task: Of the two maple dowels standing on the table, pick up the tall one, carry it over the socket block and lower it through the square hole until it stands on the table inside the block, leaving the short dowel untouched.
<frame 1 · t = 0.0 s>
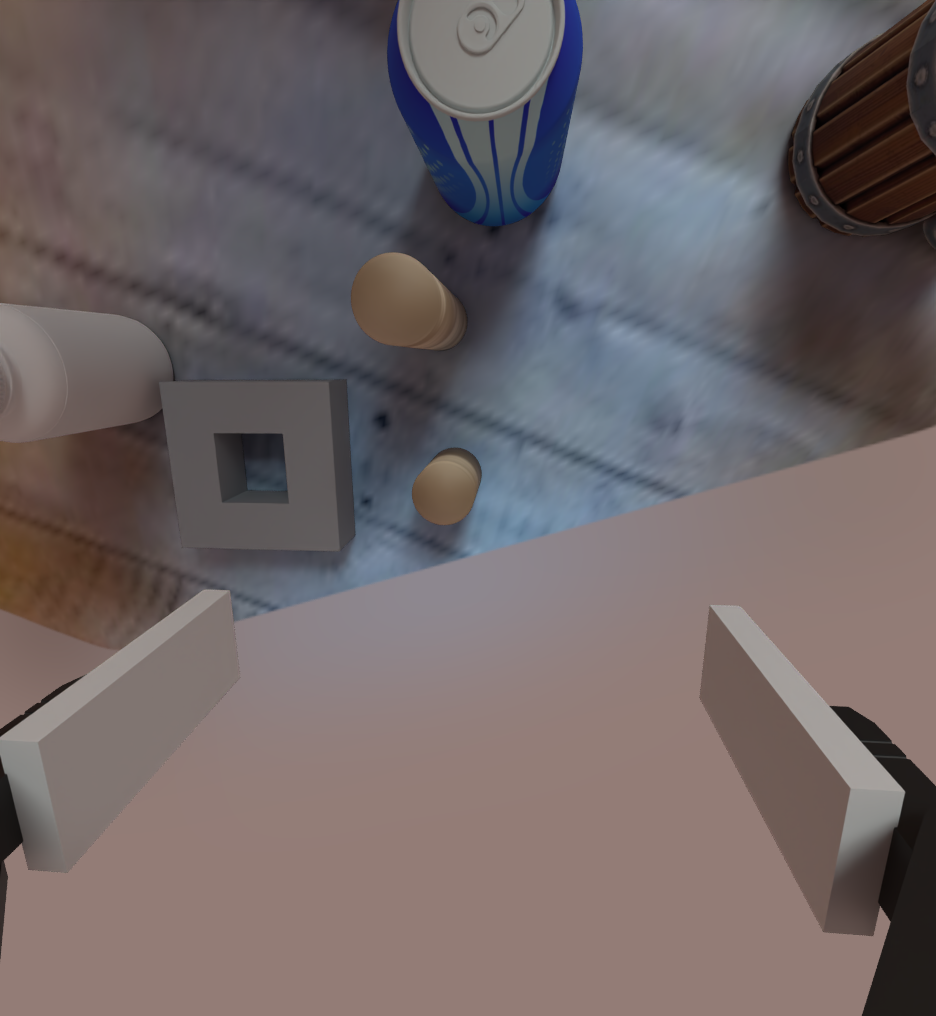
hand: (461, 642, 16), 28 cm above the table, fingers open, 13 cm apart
mug: (891, 183, 36), on the table
tall dowel: (439, 321, 40), on the table
socket block: (275, 459, 44), on the table
short dowel: (455, 473, 43), on the table
beer can: (496, 162, 38), on the table
pill bottle: (129, 370, 44), on the table
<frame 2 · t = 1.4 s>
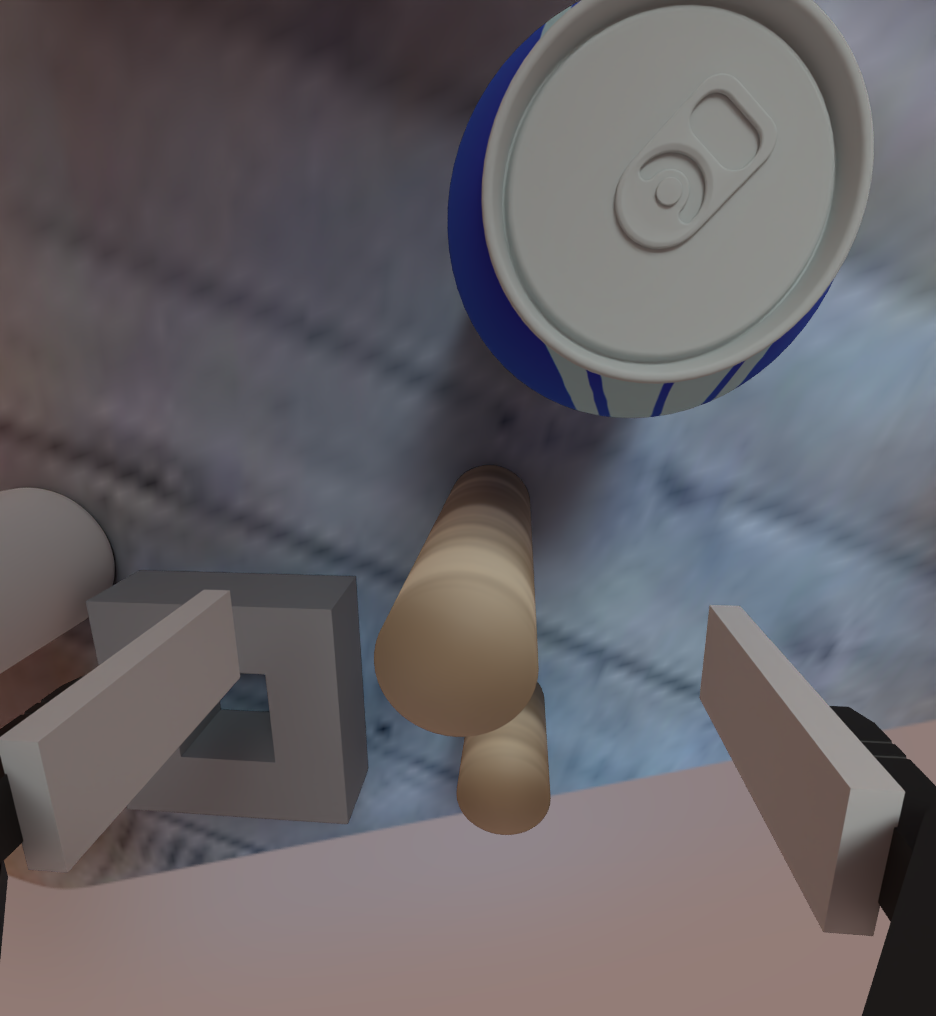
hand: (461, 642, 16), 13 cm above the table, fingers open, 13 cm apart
tall dowel: (489, 504, 28), on the table
socket block: (257, 672, 32), on the table
short dowel: (507, 700, 31), on the table
beer can: (580, 288, 25), on the table
pill bottle: (54, 554, 31), on the table
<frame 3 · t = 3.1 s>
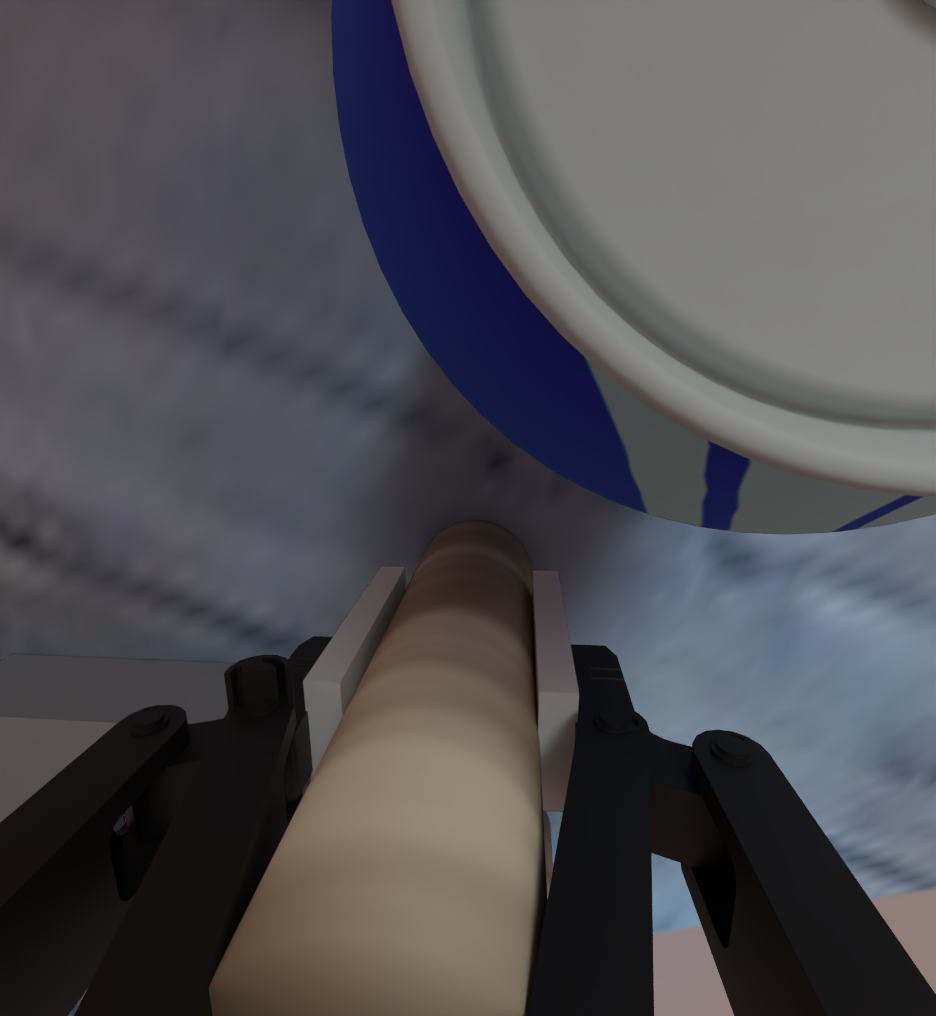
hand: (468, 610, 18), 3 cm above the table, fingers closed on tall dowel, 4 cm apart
tall dowel: (475, 573, 21), on the table, touching gripper
socket block: (172, 786, 24), on the table
short dowel: (501, 827, 23), on the table
beer can: (602, 277, 18), on the table
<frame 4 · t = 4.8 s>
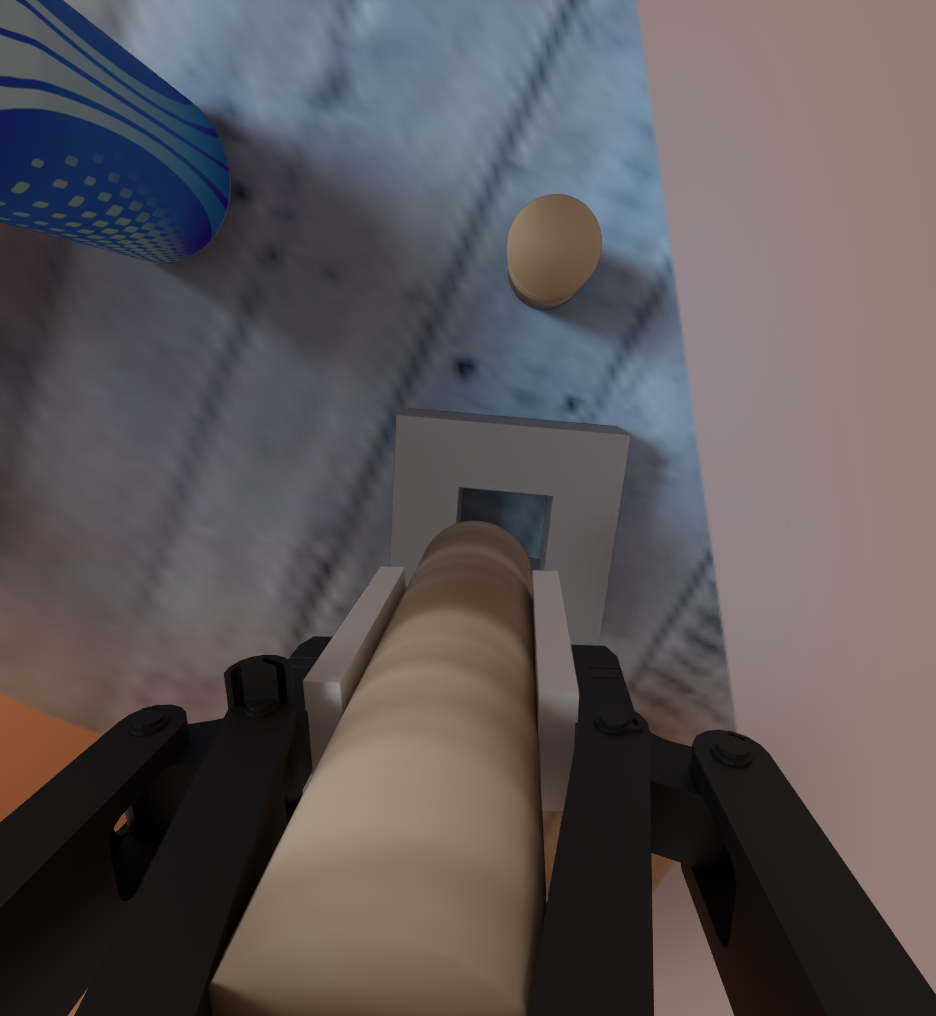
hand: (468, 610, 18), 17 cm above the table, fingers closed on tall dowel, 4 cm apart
tall dowel: (475, 573, 21), point 14 cm above the table, touching gripper
socket block: (502, 516, 35), on the table
short dowel: (545, 270, 31), on the table
beer can: (170, 185, 31), on the table
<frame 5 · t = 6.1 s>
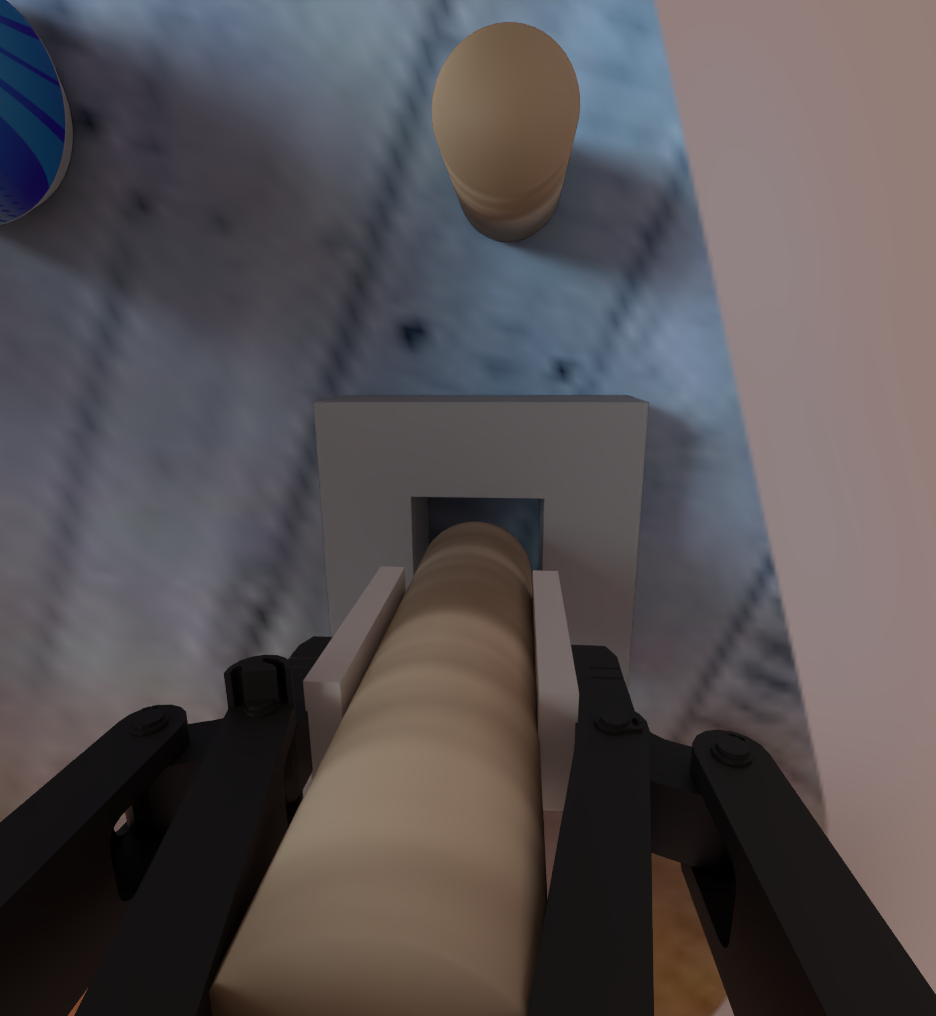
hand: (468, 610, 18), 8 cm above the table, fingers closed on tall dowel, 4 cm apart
tall dowel: (475, 574, 21), point 5 cm above the table, touching gripper
socket block: (483, 530, 26), on the table
short dowel: (509, 186, 22), on the table
when the fingers open (5 cm above the table, at t = 7.0 s): tall dowel stays where it is, resting in socket block.
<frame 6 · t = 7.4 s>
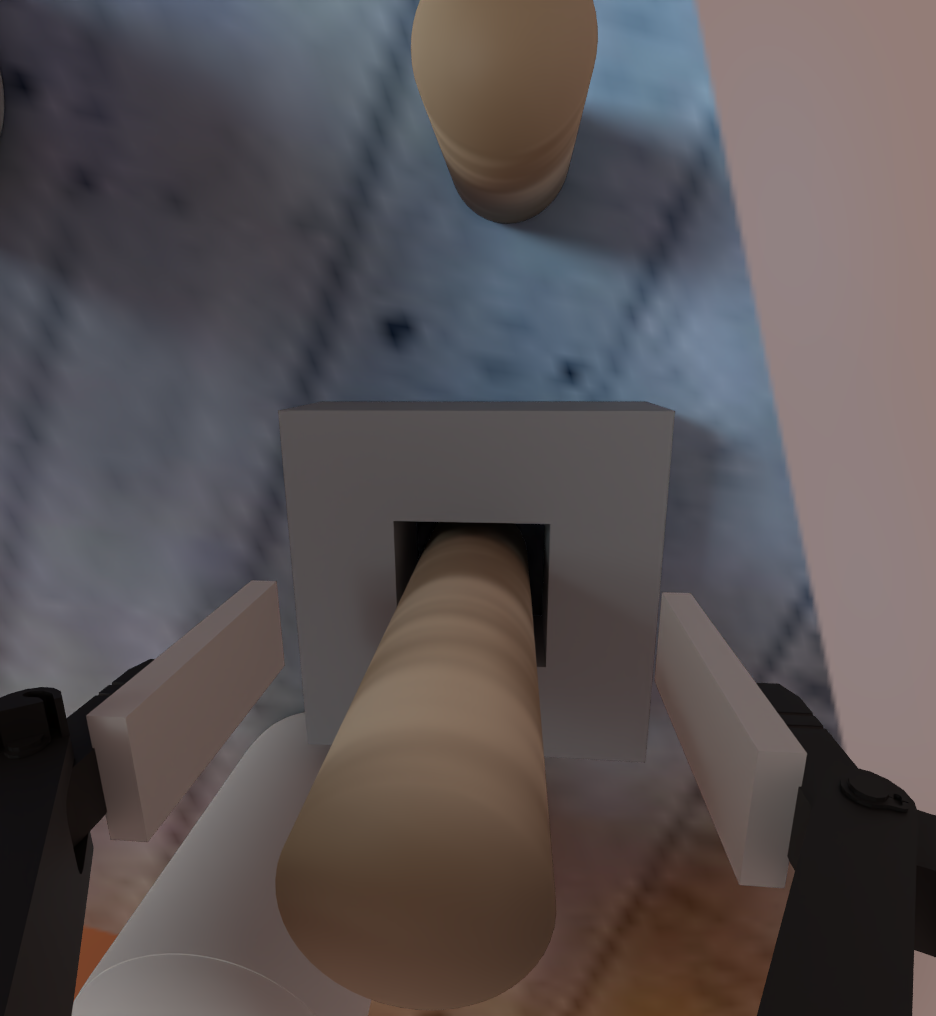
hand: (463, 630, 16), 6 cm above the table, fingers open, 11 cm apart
tall dowel: (476, 556, 23), resting in socket block
socket block: (479, 555, 23), on the table
short dowel: (509, 157, 19), on the table
pill bottle: (334, 777, 26), on the table
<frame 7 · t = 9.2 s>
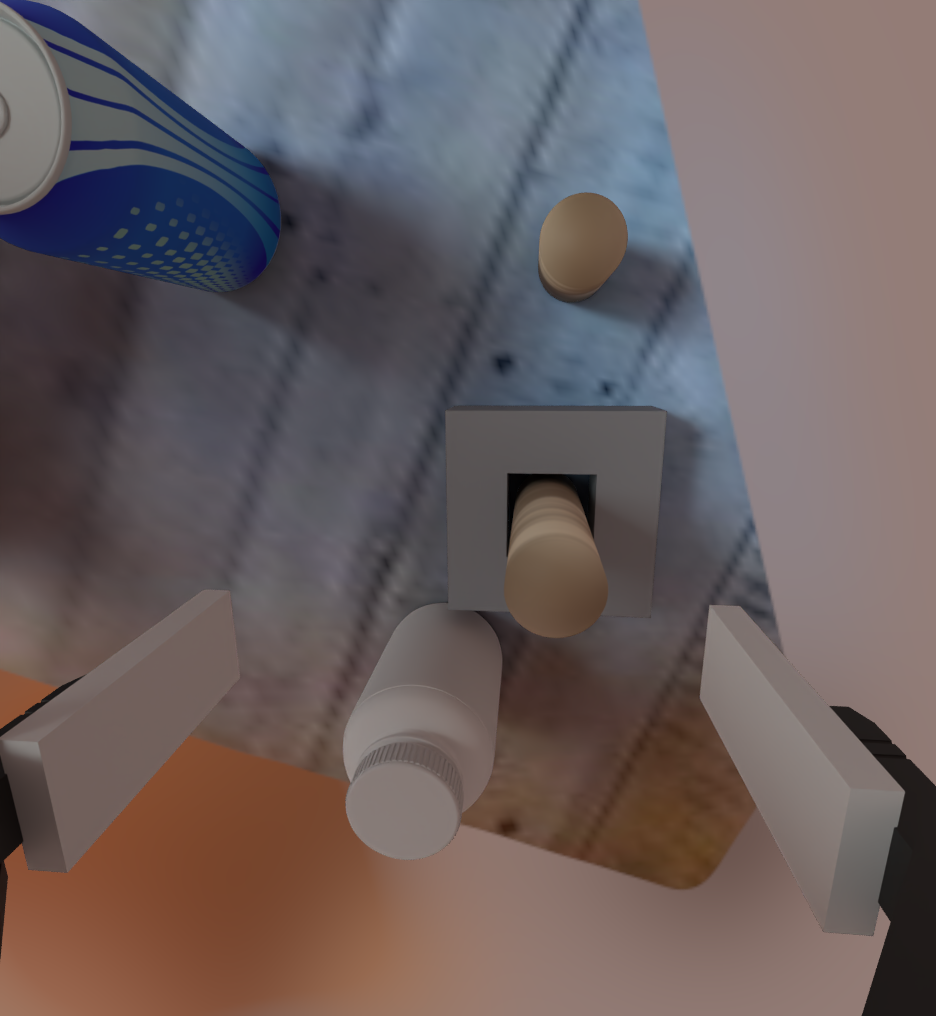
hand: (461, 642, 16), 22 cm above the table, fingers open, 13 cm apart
tall dowel: (546, 501, 37), resting in socket block
socket block: (548, 500, 36), on the table
short dowel: (572, 265, 33), on the table
beer can: (225, 222, 35), on the table
pill bottle: (447, 650, 40), on the table
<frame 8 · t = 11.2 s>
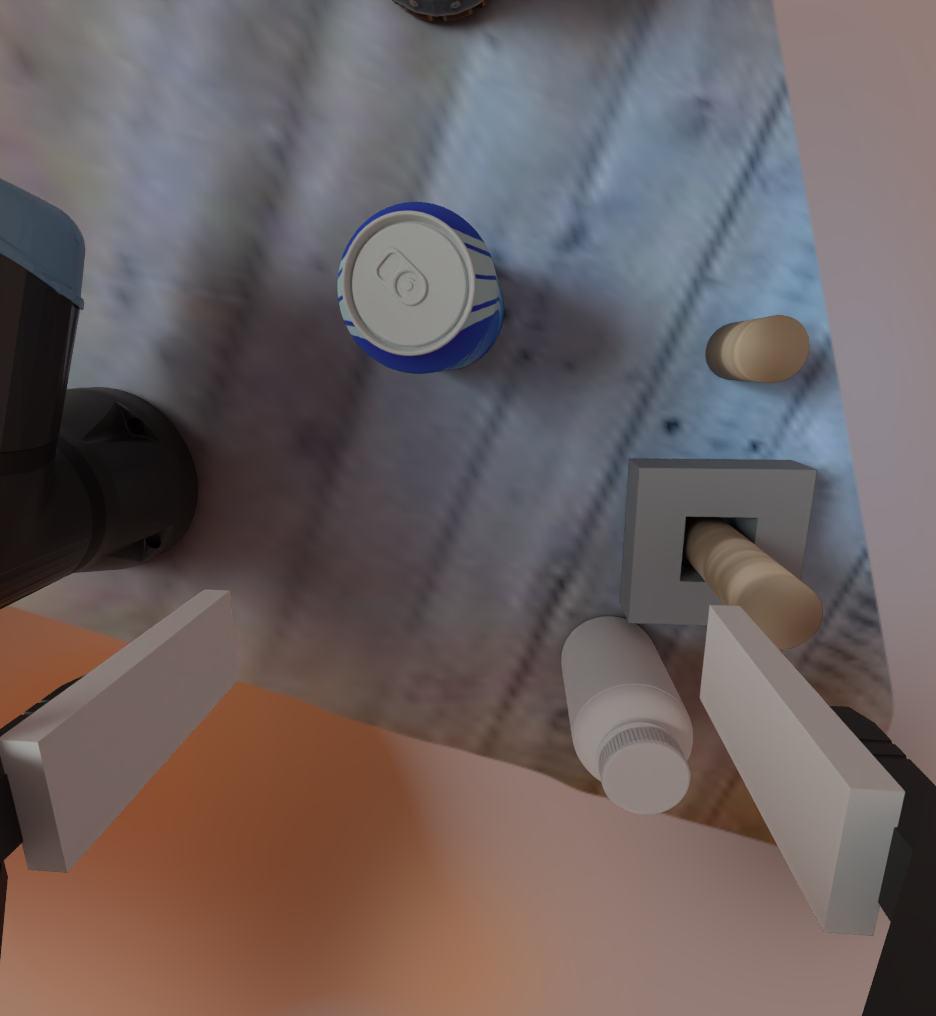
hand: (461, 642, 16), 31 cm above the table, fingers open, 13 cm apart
tall dowel: (699, 534, 45), resting in socket block
socket block: (701, 534, 45), on the table
short dowel: (733, 351, 42), on the table
beer can: (448, 312, 43), on the table
pill bottle: (607, 654, 49), on the table
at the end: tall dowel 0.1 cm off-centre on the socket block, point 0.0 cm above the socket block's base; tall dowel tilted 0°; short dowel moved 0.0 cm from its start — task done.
